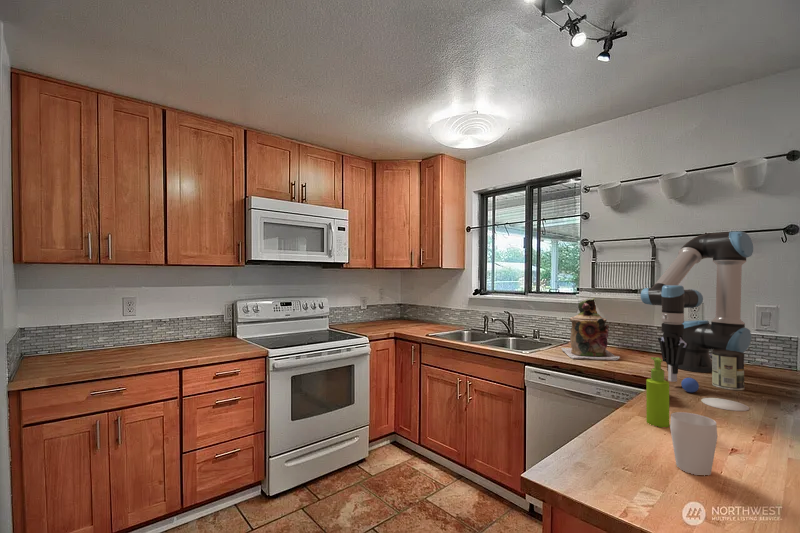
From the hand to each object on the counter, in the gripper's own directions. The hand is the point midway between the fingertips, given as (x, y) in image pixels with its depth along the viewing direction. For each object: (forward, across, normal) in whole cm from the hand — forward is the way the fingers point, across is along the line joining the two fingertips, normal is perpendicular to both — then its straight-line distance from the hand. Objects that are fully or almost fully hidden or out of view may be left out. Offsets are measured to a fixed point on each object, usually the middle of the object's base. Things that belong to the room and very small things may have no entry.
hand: (672, 381), depth 160 cm
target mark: (+2, +22, +1) cm, 22 cm away
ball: (-1, +8, 0) cm, 8 cm away
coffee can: (+2, +3, +22) cm, 22 cm away
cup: (+3, +61, -49) cm, 79 cm away
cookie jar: (+2, -58, +1) cm, 58 cm away
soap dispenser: (+3, +34, -36) cm, 50 cm away
